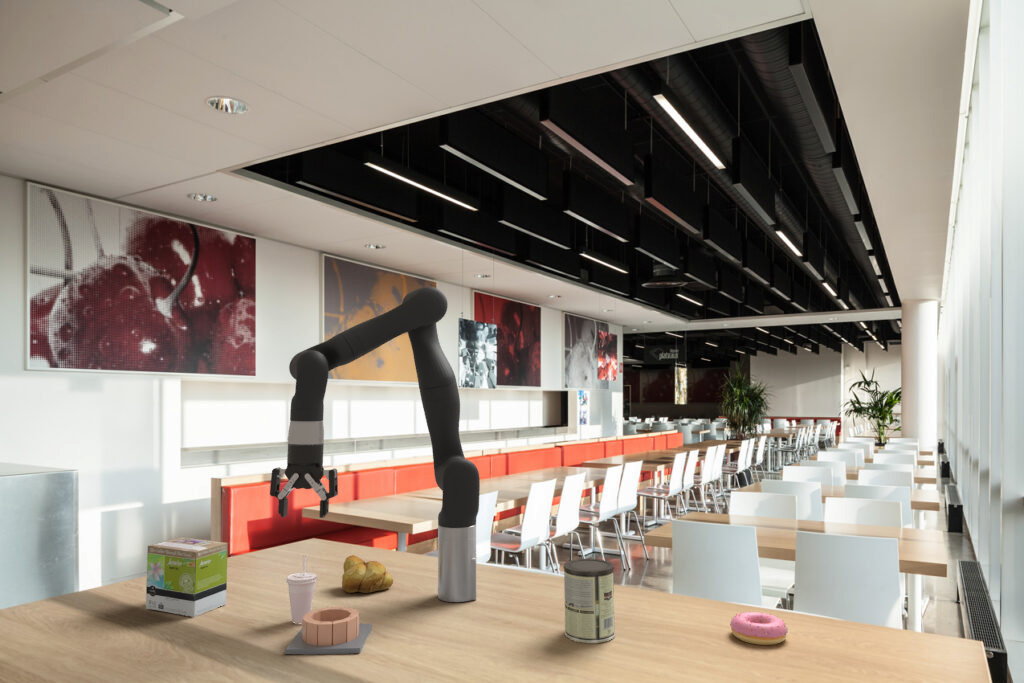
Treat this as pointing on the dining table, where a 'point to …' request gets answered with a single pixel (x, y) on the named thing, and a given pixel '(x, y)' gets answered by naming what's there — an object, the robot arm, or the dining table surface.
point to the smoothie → (301, 592)
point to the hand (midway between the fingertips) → (303, 516)
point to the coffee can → (589, 600)
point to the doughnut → (758, 628)
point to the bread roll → (364, 576)
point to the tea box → (186, 576)
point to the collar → (330, 632)
